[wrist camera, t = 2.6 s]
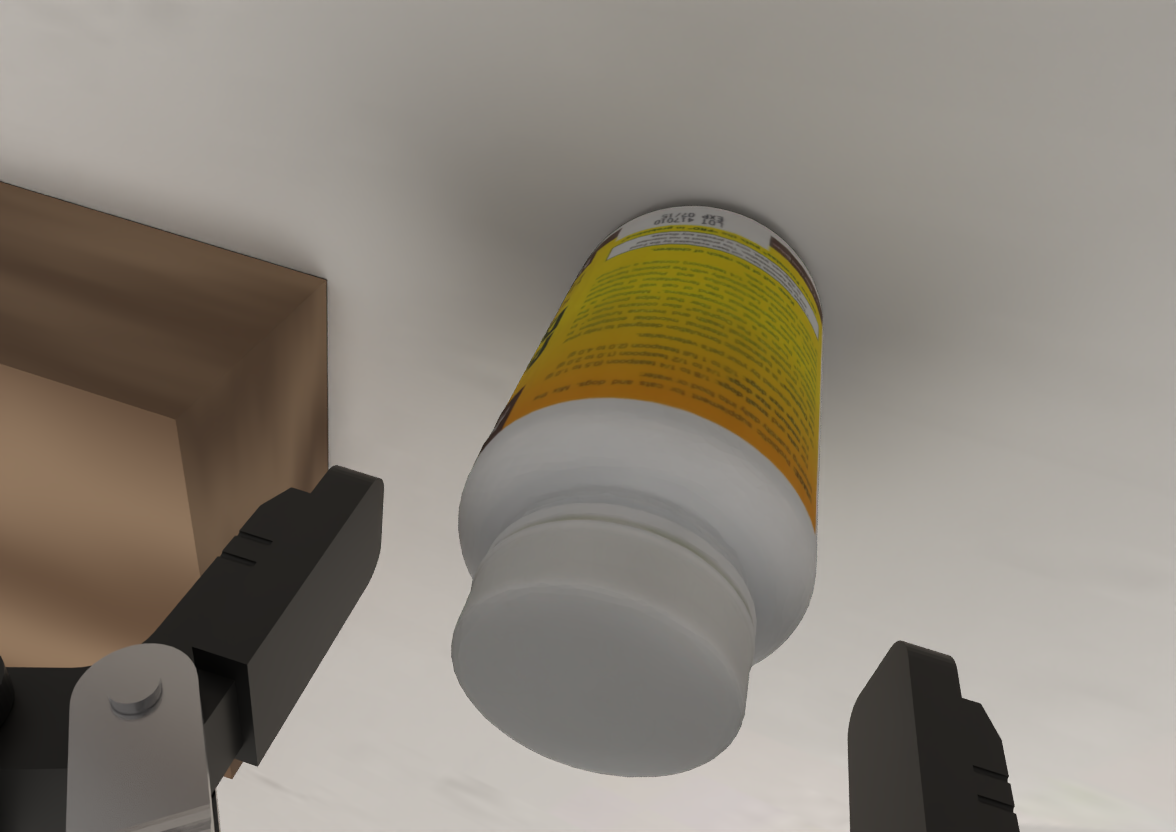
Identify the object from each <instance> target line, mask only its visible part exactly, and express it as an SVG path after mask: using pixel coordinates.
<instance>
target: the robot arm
mask: <svg viewBox="0 0 1176 832" xmlns="http://www.w3.org/2000/svg"><path fill="white" fill-rule="evenodd" d="M383 497H384V483H383V480H382V479H380V478H377V477H374V476H370V475H367V474H364V473H361V472H357V471H354V470H351V469H348V468H344V467H341V466H338V465H335V466H333V467H331V468H330V469H329V470H328V471H327V473H326V474H325V475H324V476H323V478H322V479H321V480H320V482H319V483H318V484H317V485H316V487H315V488H314V489H313V491H312V492H311V493H308V492H305V491H302V490H299V489H296V488H292V487H291V488H289V489H287V490H286V491H284V492H282V493H280V494H279V495H277V496H275V497H274V498H272V499H270V500H268V501H267V502H265V503H263V504H262V505H260V506H259V507H258V509H257V510H256V511H255V512H254V513H253V515H252V516H251V517H250V518H249V519H248V521H247V522H246V523H245V524H244V525H243V526H242V528H241V529H240V530H239V534H238V535H237V536H236V535H235V536H234V537H233V538H232V540H231V541H230V542H229V543H228V544H227V546H226V547H225V548H224V549H223V550H222V554H221V556H220V557H219V556H217V558H216V559H215V560H214V561H213V562H212V564H211V565H210V566H209V567H208V568H207V570H206V571H205V572H204V573H203V574H202V576H201V577H200V578H199V579H198V580H197V581H196V583H195V584H194V585H193V586H192V587H191V589H190V590H189V591H188V592H187V593H186V595H185V596H184V597H183V598H182V599H181V601H180V602H179V603H178V604H177V605H176V607H175V608H174V609H173V610H172V611H171V613H170V614H169V615H168V616H167V617H166V619H165V620H164V621H163V622H162V623H161V625H160V626H159V627H158V628H157V629H156V631H155V632H154V633H153V634H152V635H151V636H150V637H149V638H148V639H147V640H145V641H144V642H143V643H142V644H138V645H133V646H129V647H125V648H122V649H119V650H117V651H114V652H112V653H110V654H108V655H107V656H105V657H103V658H102V659H100V660H99V661H97V662H96V663H94V664H93V665H92V666H86V667H74V668H51V667H5V664H4V662H3V659H2V658H1V656H0V832H221V828H220V819H219V809H218V799H217V789H216V787H217V785H218V784H219V782H220V781H221V779H222V777H223V776H224V774H225V773H226V771H227V770H228V768H229V766H230V765H231V763H232V762H233V760H234V759H237V760H240V761H243V762H246V763H249V764H252V765H255V766H258V765H259V764H260V762H261V760H262V759H263V757H264V755H265V754H266V752H267V750H268V749H269V747H270V745H271V744H272V742H273V740H274V739H275V737H276V736H277V734H278V732H279V731H280V729H281V727H282V726H283V724H284V722H285V721H286V719H287V717H288V716H289V714H290V712H291V711H292V709H293V707H294V706H295V704H296V702H297V701H298V699H299V697H300V696H301V694H302V693H303V691H304V689H305V688H306V686H307V684H308V683H309V681H310V679H311V678H312V676H313V674H314V673H315V671H316V669H317V668H318V666H319V664H320V663H321V661H322V659H323V658H324V656H325V655H326V653H327V651H328V650H329V648H330V646H331V645H332V643H333V641H334V640H335V638H336V636H337V635H338V633H339V631H340V630H341V628H342V626H343V625H344V623H345V621H346V620H347V618H348V616H349V615H350V613H351V612H352V610H353V608H354V607H355V605H356V603H357V602H358V600H359V598H360V597H361V595H362V593H363V592H364V590H365V588H366V587H367V585H368V583H369V581H370V579H371V577H372V575H373V573H374V570H375V567H376V565H377V561H378V558H379V554H380V549H381V535H382V516H383ZM848 769H849V805H850V832H1020V831H1019V826H1018V821H1017V816H1016V814H1015V813H1013V809H1014V807H1015V806H1014V801H1013V795H1012V790H1011V785H1010V783H1008V782H1007V779H1008V777H1009V775H1008V770H1007V765H1006V760H1005V755H1004V750H1003V745H1002V740H1001V738H1000V736H999V735H998V733H997V731H996V729H995V728H994V726H993V724H992V722H991V721H990V719H989V717H988V715H987V714H986V712H985V710H984V708H983V707H982V705H981V704H980V703H977V702H974V701H970V700H967V699H964V698H962V696H961V690H960V684H959V678H958V671H957V666H956V663H955V661H954V659H953V658H952V657H951V656H949V655H946V654H943V653H939V652H936V651H933V650H930V649H926V648H923V647H920V646H917V645H913V644H910V643H907V642H904V641H897V642H896V643H894V644H893V646H892V647H891V648H890V650H889V651H888V653H887V654H886V656H885V657H884V659H883V660H882V662H881V663H880V665H879V666H878V668H877V669H876V671H875V672H874V674H873V675H872V677H871V678H870V680H869V681H868V683H867V684H866V686H865V687H864V689H863V690H862V692H861V693H860V695H859V697H858V698H857V700H856V702H855V705H854V707H853V710H852V713H851V717H850V722H849V728H848Z"/></svg>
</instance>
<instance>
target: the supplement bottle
mask: <svg viewBox="0 0 1176 832" xmlns="http://www.w3.org/2000/svg"><path fill="white" fill-rule="evenodd" d="M822 365H823V316H822V308H821V303H820V299H819V295H818V292H817V289H816V287H815V284H814V282H813V279H812V277H811V275H810V273H809V272H808V270H807V268H806V267H805V265H804V264H803V262H802V261H801V259H800V258H799V257H798V255H797V254H796V253H795V252H794V251H793V249H792V248H791V247H790V246H789V245H788V244H787V243H786V242H785V241H784V240H783V239H781V238H780V237H779V236H778V235H777V234H775V233H774V232H773V231H771V230H770V229H768V228H767V227H765V226H763V225H762V224H760V223H758V222H756V221H754V220H752V219H750V218H748V217H745V216H743V215H740V214H737V213H734V212H731V211H727V210H723V209H719V208H712V207H705V206H680V207H671V208H666V209H661V210H657V211H654V212H650V213H647V214H645V215H642V216H640V217H637V218H635V219H633V220H631V221H629V222H628V223H626V224H624V225H623V226H621V227H620V228H618V229H617V230H615V231H614V232H613V233H611V234H610V235H609V236H608V237H606V238H605V239H604V240H603V241H602V242H601V243H600V244H599V245H598V247H597V248H596V249H595V250H594V251H593V253H592V254H591V255H590V257H589V258H588V260H587V261H586V263H585V264H584V266H583V268H582V269H581V271H580V272H579V274H578V276H577V278H576V280H575V281H574V283H573V285H572V287H571V288H570V290H569V292H568V294H567V296H566V297H565V299H564V301H563V303H562V305H561V307H560V308H559V310H558V312H557V314H556V316H555V318H554V319H553V321H552V323H551V325H550V327H549V328H548V330H547V332H546V334H545V336H544V337H543V339H542V341H541V343H540V345H539V347H538V349H537V350H536V352H535V354H534V356H533V358H532V359H531V361H530V363H529V365H528V367H527V369H526V371H525V372H524V374H523V376H522V378H521V380H520V382H519V384H518V385H517V387H516V389H515V391H514V393H513V395H512V397H511V398H510V400H509V402H508V404H507V405H506V407H505V409H504V410H503V412H502V414H501V415H500V417H499V419H498V421H497V423H496V425H495V427H494V429H493V431H492V433H491V434H490V436H489V438H488V439H487V441H486V442H485V443H484V445H483V447H482V449H481V451H480V453H479V455H478V457H477V459H476V461H475V464H474V466H473V468H472V470H471V472H470V474H469V475H468V478H467V481H466V484H465V486H464V489H463V492H462V496H461V501H460V506H459V517H458V531H459V538H460V544H461V549H462V554H463V557H464V560H465V563H466V566H467V568H468V571H469V573H470V575H471V577H472V579H473V581H472V587H471V592H470V594H469V596H468V599H467V601H466V603H465V606H464V608H463V610H462V612H461V615H460V617H459V619H458V622H457V624H456V627H455V629H454V633H453V639H452V645H451V657H452V662H453V667H454V672H455V674H456V676H457V679H458V681H459V683H460V685H461V687H462V689H463V690H464V692H465V694H466V695H467V697H468V698H469V699H470V701H471V702H472V703H473V704H474V706H475V707H476V708H477V709H478V710H479V711H480V713H481V714H482V715H483V716H484V717H485V718H486V719H487V720H488V721H490V722H491V723H492V724H493V725H494V726H496V727H497V728H498V729H499V730H501V731H502V732H503V733H505V734H506V735H507V736H509V737H510V738H512V739H513V740H515V741H516V742H518V743H519V744H521V745H523V746H525V747H526V748H528V749H530V750H532V751H534V752H536V753H538V754H540V755H542V756H544V757H547V758H549V759H552V760H554V761H557V762H560V763H563V764H566V765H569V766H571V767H574V768H578V769H582V770H586V771H590V772H595V773H600V774H606V775H615V776H623V777H659V776H667V775H673V774H677V773H681V772H685V771H689V770H692V769H694V768H696V767H699V766H701V765H703V764H705V763H707V762H709V761H711V760H712V759H714V758H715V757H716V756H718V755H719V754H720V753H721V752H723V751H724V750H725V749H726V748H727V747H728V746H729V745H730V744H731V743H732V741H733V740H734V738H735V737H736V735H737V733H738V731H739V729H740V727H741V725H742V721H743V718H744V715H745V707H746V699H747V690H748V680H749V672H750V670H751V667H752V666H753V665H755V664H756V663H758V662H760V661H761V660H763V659H765V658H766V657H767V656H769V655H770V654H772V653H773V652H774V651H775V650H776V649H778V648H779V647H780V646H781V645H782V644H783V643H784V642H785V641H786V640H787V639H788V638H789V636H790V635H791V634H792V633H793V631H794V630H795V629H796V627H797V626H798V624H799V623H800V621H801V620H802V618H803V616H804V614H805V612H806V610H807V608H808V606H809V603H810V599H811V597H812V594H813V589H814V583H815V577H816V563H817V525H818V491H819V466H820V433H821V405H822Z"/></svg>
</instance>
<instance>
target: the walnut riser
mask: <svg viewBox="0 0 1176 832" xmlns="http://www.w3.org/2000/svg"><path fill="white" fill-rule="evenodd" d="M327 471H328V416H327V297H326V280H324V279H321V278H318V277H314V276H311V275H308V274H304V273H301V272H298V271H294V270H291V269H288V268H284V267H281V266H278V265H274V264H271V263H268V262H265V261H261V260H258V259H255V258H251V257H248V256H245V255H241V254H238V253H235V252H231V251H228V250H225V249H221V248H218V247H215V246H211V245H208V244H205V243H201V242H198V241H195V240H191V239H188V238H185V237H182V236H178V235H175V234H172V233H168V232H165V231H162V230H158V229H155V228H152V227H148V226H145V225H142V224H138V223H135V222H132V221H128V220H125V219H122V218H118V217H115V216H112V215H108V214H105V213H102V212H99V211H95V210H92V209H89V208H85V207H82V206H79V205H75V204H72V203H69V202H65V201H62V200H59V199H55V198H52V197H49V196H45V195H42V194H39V193H35V192H32V191H29V190H26V189H22V188H19V187H16V186H12V185H9V184H6V183H2V182H0V656H1V658H2V659H3V662H4V664H5V667H51V668H74V667H86V666H92V665H93V664H94V663H96V662H97V661H99V660H100V659H102V658H103V657H105V656H107V655H108V654H110V653H112V652H114V651H117V650H119V649H122V648H125V647H129V646H133V645H138V644H142V643H143V642H144V641H145V640H147V639H148V638H149V637H150V636H151V635H152V634H153V633H154V632H155V631H156V629H157V628H158V627H159V626H160V625H161V623H162V622H163V621H164V620H165V619H166V617H167V616H168V615H169V614H170V613H171V611H172V610H173V609H174V608H175V607H176V605H177V604H178V603H179V602H180V601H181V599H182V598H183V597H184V596H185V595H186V593H187V592H188V591H189V590H190V589H191V587H192V586H193V585H194V584H195V583H196V581H197V580H198V579H199V578H200V577H201V576H202V574H203V573H204V572H205V571H206V570H207V568H208V567H209V566H210V565H211V564H212V562H213V561H214V560H215V559H216V558H217V556H219V557H220V556H221V554H222V550H223V549H224V548H225V547H226V546H227V544H228V543H229V542H230V541H231V540H232V538H233V537H234V536H235V535H236V536H237V535H238V534H239V530H240V529H241V528H242V526H243V525H244V524H245V523H246V522H247V521H248V519H249V518H250V517H251V516H252V515H253V513H254V512H255V511H256V510H257V509H258V507H259V506H260V505H262V504H263V503H265V502H267V501H268V500H270V499H272V498H274V497H275V496H277V495H279V494H280V493H282V492H284V491H286V490H287V489H289V488H291V487H292V488H296V489H299V490H302V491H305V492H308V493H311V492H312V491H313V489H314V488H315V487H316V485H317V484H318V483H319V482H320V480H321V479H322V478H323V476H324V475H325V474H326V473H327ZM242 762H243V761H240V760H237V759H234V760H233V762H232V763H231V765H230V766H229V768H228V770H227V771H226V773H225V774H224V777H227V778H230V779H233V777H234V775H235V774H236V772H237V771H238V769H239V767H240V766H241V764H242Z"/></svg>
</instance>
